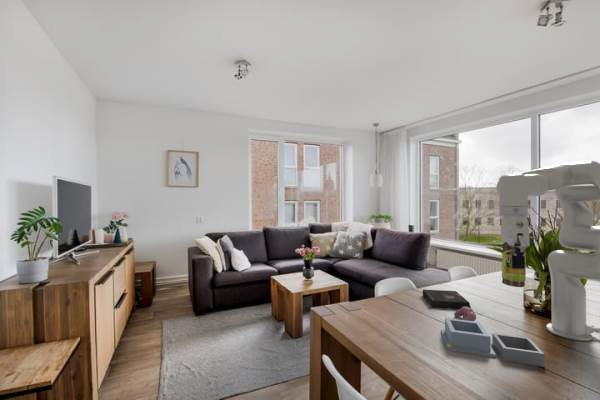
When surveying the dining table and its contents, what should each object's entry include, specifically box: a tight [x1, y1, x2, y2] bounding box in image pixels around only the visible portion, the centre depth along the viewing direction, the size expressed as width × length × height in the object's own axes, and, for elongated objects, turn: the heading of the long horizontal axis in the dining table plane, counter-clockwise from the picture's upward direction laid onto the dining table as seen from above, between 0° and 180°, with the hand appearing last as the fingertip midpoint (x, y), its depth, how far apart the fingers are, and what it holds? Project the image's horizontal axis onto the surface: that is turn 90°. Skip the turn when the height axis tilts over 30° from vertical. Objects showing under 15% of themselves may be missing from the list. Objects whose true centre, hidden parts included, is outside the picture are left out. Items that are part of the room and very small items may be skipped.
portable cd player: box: [422, 289, 472, 310], centre depth 138 cm, size 16×17×4 cm
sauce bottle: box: [501, 242, 527, 288], centre depth 91 cm, size 6×6×20 cm
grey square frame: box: [491, 332, 546, 368], centre depth 91 cm, size 11×11×4 cm
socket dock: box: [440, 317, 497, 358], centre depth 98 cm, size 14×14×6 cm
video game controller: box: [453, 306, 477, 322], centre depth 116 cm, size 10×5×7 cm, turn 169°
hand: (513, 265), depth 91 cm, fingers closed on sauce bottle, 6 cm apart
